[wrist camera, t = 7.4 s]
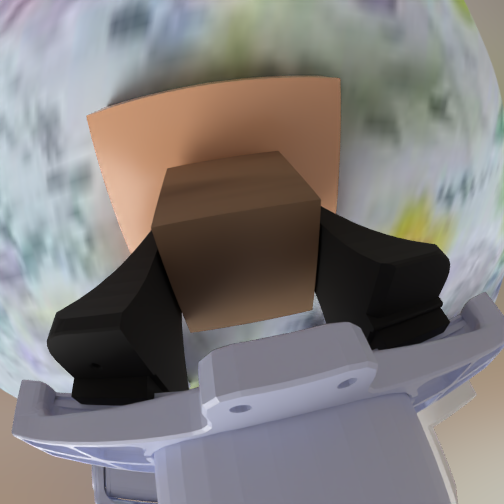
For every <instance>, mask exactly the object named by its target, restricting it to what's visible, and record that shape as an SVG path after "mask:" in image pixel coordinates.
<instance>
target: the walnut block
mask: <svg viewBox="0 0 504 504" xmlns="http://www.w3.org/2000/svg"><path fill="white" fill-rule="evenodd" d="M320 212H321V199H320V197H319V196H318V195H317V194H316V193H315V191H314V190H313V189H312V188H311V187H310V186H309V184H308V183H307V182H306V181H305V180H304V179H303V178H302V176H301V175H300V174H299V173H298V172H297V171H296V170H295V168H294V167H293V166H292V165H291V164H290V163H289V162H288V161H287V160H286V158H285V157H284V156H283V155H282V154H281V153H280V152H279V151H271V152H263V153H255V154H247V155H240V156H233V157H227V158H220V159H214V160H208V161H202V162H197V163H191V164H186V165H181V166H176V167H171V168H167V171H166V174H165V177H164V181H163V184H162V188H161V191H160V195H159V198H158V202H157V206H156V209H155V213H154V217H153V221H152V225H151V230H152V233H153V236H154V239H155V242H156V245H157V247H158V250H159V253H160V256H161V259H162V262H163V264H164V267H165V270H166V273H167V275H168V278H169V281H170V283H171V286H172V288H173V291H174V294H175V296H176V299H177V301H178V304H179V306H180V309H181V311H182V313H183V316H184V318H185V321H186V323H187V325H188V328H189V330H190V332H191V333H193V332H200V331H206V330H212V329H219V328H225V327H230V326H236V325H242V324H247V323H253V322H258V321H263V320H268V319H273V318H278V317H283V316H288V315H292V314H297V313H301V312H306V311H310V310H312V309H313V300H314V290H315V280H316V269H317V257H318V244H319V229H320Z"/></svg>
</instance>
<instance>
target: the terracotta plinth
mask: <svg viewBox="0 0 504 504" xmlns="http://www.w3.org/2000/svg"><path fill="white" fill-rule="evenodd" d="M86 117H87V121H88V125H89V129H90V133H91V137H92V141H93V145H94V148H95V152H96V156H97V159H98V163H99V166H100V169H101V173H102V176H103V179H104V182H105V185H106V188H107V191H108V194H109V197H110V200H111V203H112V206H113V209H114V212H115V215H116V217H117V220H118V223H119V225H120V228H121V231H122V233H123V236H124V238H125V241H126V243H127V246H128V248H129V251H130V253H131V254H132V253H133V252H134V250H135V249H136V248H137V247H138V246H139V245H140V243H141V242H142V241H143V240H144V238H145V237H146V236H147V235H148V233H149V232H150V231H151V225H152V221H153V217H154V213H155V209H156V206H157V202H158V198H159V195H160V191H161V188H162V184H163V181H164V177H165V174H166V171H167V168H171V167H176V166H181V165H186V164H191V163H197V162H202V161H208V160H214V159H220V158H227V157H233V156H240V155H247V154H255V153H263V152H271V151H279V152H280V153H281V154H282V155H283V156H284V157H285V158H286V160H287V161H288V162H289V163H290V164H291V165H292V166H293V167H294V168H295V170H296V171H297V172H298V173H299V174H300V175H301V176H302V178H303V179H304V180H305V181H306V182H307V183H308V184H309V186H310V187H311V188H312V189H313V190H314V191H315V193H316V194H317V195H318V196H319V197H320V199H321V206H322V207H324V208H326V209H328V210H329V211H331V212H333V213H335V214H336V207H337V195H338V179H339V160H340V129H341V87H340V78H334V77H325V76H308V75H299V76H268V77H253V78H242V79H232V80H224V81H216V82H209V83H203V84H197V85H191V86H186V87H181V88H176V89H171V90H166V91H162V92H157V93H153V94H149V95H145V96H141V97H138V98H134V99H131V100H127V101H124V102H120V103H117V104H114V105H111V106H108V107H105V108H103V109H100V110H98V111H96V112H94V113H92V114H89V115H87V116H86Z"/></svg>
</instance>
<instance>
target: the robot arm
mask: <svg viewBox="0 0 504 504" xmlns="http://www.w3.org/2000/svg"><path fill="white" fill-rule="evenodd" d="M449 270H450V261H449V259H448V257H447V256H446V255H445V254H444V253H443V252H442V251H441V250H440V249H439V247H438V246H437V245H435V244H429V243H422V242H416V241H410V240H406V239H401V238H397V237H393V236H390V235H386V234H383V233H380V232H377V231H374V230H371V229H368V228H366V227H363V226H361V225H358V224H356V223H353V222H351V221H349V220H347V219H345V218H343V217H341V216H339V215H337V214H335V213H333V212H331V211H329V210H328V209H326V208H324V207H322V206H321V212H320V229H319V244H318V257H317V269H316V280H315V290H314V291H315V293H316V296H317V298H318V301H319V303H320V306H321V309H322V312H323V315H324V318H325V321H326V324H325V325H321V326H317V327H312V328H308V329H304V330H300V331H295V332H291V333H286V334H281V335H277V336H272V337H267V338H262V339H256V340H251V341H246V342H240V343H234V344H231V345H227V346H224V347H221V348H218V349H215V350H213V351H211V352H210V353H209V354H208V355H207V356H205V357H204V358H203V359H202V360H201V361H199V364H198V377H199V387H197V388H193V389H190V390H189V388H190V387H191V386H190V383H189V381H188V379H187V372H186V364H185V356H184V346H183V334H182V311H181V309H180V306H179V304H178V301H177V299H176V296H175V294H174V291H173V288H172V286H171V283H170V281H169V278H168V275H167V273H166V270H165V267H164V264H163V262H162V259H161V256H160V253H159V250H158V247H157V245H156V242H155V239H154V236H153V233H152V230H151V231H150V232H149V233H148V235H147V236H146V237H145V238H144V240H143V241H142V242H141V243H140V245H139V246H138V247H137V248H136V249H135V250H134V252H133V253H132V254H131V255H130V256H129V257H128V258H127V260H126V261H125V262H124V263H123V264H122V265H121V266H120V267H119V268H118V269H117V270H115V271H114V272H113V273H112V274H111V275H110V276H109V277H108V278H106V279H105V280H104V281H103V282H102V283H100V284H99V285H98V286H97V287H95V288H94V289H93V290H91V291H90V292H89V293H87V294H86V295H84V296H83V297H81V298H80V299H78V300H77V301H75V302H74V303H72V304H70V305H69V306H67V307H65V308H64V309H62V310H60V311H58V312H57V313H56V315H55V318H54V321H53V324H52V327H51V330H50V333H49V336H48V339H47V347H48V349H49V352H50V353H51V355H52V356H53V357H54V359H55V360H56V361H57V362H58V363H59V364H60V365H61V366H62V367H63V368H64V369H65V370H66V371H67V372H68V373H69V374H71V375H72V376H73V377H74V383H73V389H72V393H58V392H55V391H54V390H53V389H52V388H51V387H50V386H49V385H47V384H46V383H43V382H40V381H32V380H22V382H21V386H20V390H19V395H18V399H17V405H16V409H15V415H14V421H13V427H12V434H13V436H15V437H17V438H19V439H21V440H22V441H24V442H26V443H28V444H30V445H32V446H34V447H35V448H38V449H40V450H42V451H44V452H46V453H48V454H50V455H52V456H56V457H60V458H64V459H68V460H73V461H77V462H82V463H87V464H92V484H93V489H94V495H95V503H96V504H451V501H450V498H449V495H448V492H447V489H446V486H445V483H444V481H443V478H442V475H441V472H440V470H439V467H438V464H437V462H436V459H435V456H434V454H433V451H432V449H431V446H430V444H429V441H428V439H427V437H426V434H425V432H424V429H423V427H422V425H421V422H420V420H419V418H418V416H417V413H418V412H420V411H421V410H423V409H425V408H427V407H428V406H430V405H432V404H433V403H435V402H436V401H438V400H440V399H441V398H443V397H444V396H446V395H447V394H449V393H450V392H452V391H453V390H455V389H456V388H458V387H459V386H461V385H462V384H463V383H465V382H466V381H468V380H469V379H470V378H472V377H473V376H474V375H476V374H477V373H479V372H480V371H482V370H483V369H484V368H486V367H487V366H488V365H489V364H490V363H491V361H492V360H493V359H494V358H495V357H496V356H497V355H498V354H499V353H500V351H501V350H502V349H503V348H504V315H503V314H502V313H501V311H500V310H499V309H498V307H497V306H496V305H495V303H494V302H493V301H492V299H491V298H490V297H489V296H488V294H487V293H486V292H483V293H481V294H479V295H477V296H475V297H473V298H471V299H470V300H469V301H468V302H467V303H466V304H465V306H464V307H463V309H462V311H461V314H459V315H457V316H455V317H453V318H451V319H448V318H447V316H446V315H445V314H444V312H443V311H442V309H441V308H440V307H442V305H443V302H442V301H441V299H440V298H439V294H440V292H441V290H442V288H443V286H444V284H445V282H446V280H447V277H448V274H449ZM105 487H106V488H105ZM115 497H117V498H115ZM118 498H123V499H131V500H140V501H151V502H158V503H145V502H135V501H128V500H121V499H118Z"/></svg>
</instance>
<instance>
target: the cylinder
mask: <svg viewBox="0 0 504 504" xmlns="http://www.w3.org/2000/svg"><path fill="white" fill-rule="evenodd" d="M476 395H477V394H476V392H475V390H474V388H473V386H472V385H471V383H470V381H469V380H468V381H466V382H465V383H463V384H462V385H461V386H459V387H458V388H456V389H455V390H453V391H452V392H450V393H449V394H447V395H446V396H444V397H443V398H441V399H440V400H438V401H436V402H435V403H433V404H432V405H430V406H428V407H427V408H425V409H423V410H421V411H420V412H418V413H417V416H418V418H419V420H420V422H421V425H422V427H423V429H424V432H425V434H426V437H427V439H428V441H429V444H430V446H431V449H432V451H433V454H434V456H435V459H436V462H437V464H438V467H439V470H440V472H441V475H442V478H443V481H444V483H445V486H446V489H447V492H448V495H449V498H450V501H451V504H458V501H457V491H456V484H455V481H454V479H453V476H452V473H451V470H450V467H449V465H448V462H447V460H446V457H445V454H444V452H443V450H442V447H441V444H440V442H439V440H438V437H437V435H436V432H435V430H434V428H433V427H434V426H436V425H437V424H439V423H440V422H442V421H444V420H445V419H447V418H448V417H450V416H451V415H452V414H454V413H455V412H457V411H458V410H459V409H461V408H462V407H463V406H465V405H466V404H467V403H468V402H470V401H471V400H472V399H473V398H474V397H475V396H476Z"/></svg>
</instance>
